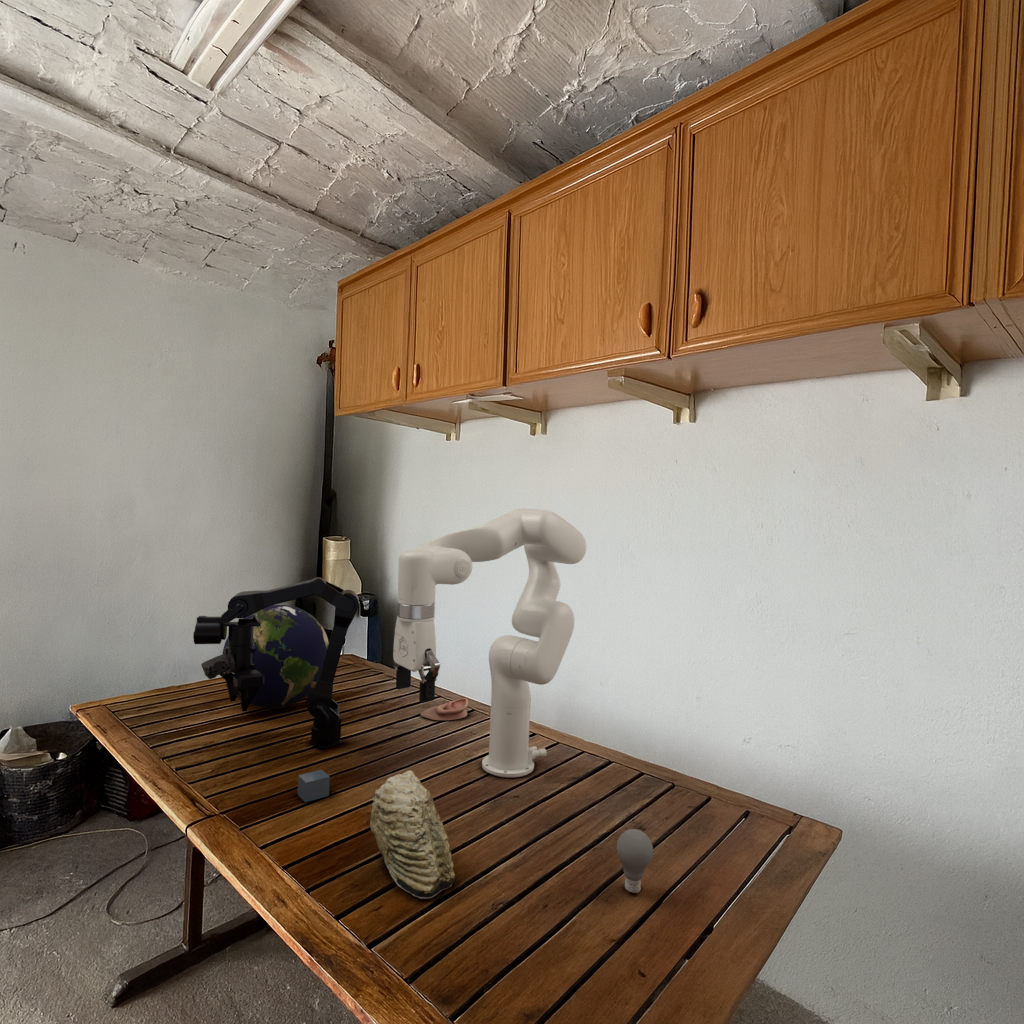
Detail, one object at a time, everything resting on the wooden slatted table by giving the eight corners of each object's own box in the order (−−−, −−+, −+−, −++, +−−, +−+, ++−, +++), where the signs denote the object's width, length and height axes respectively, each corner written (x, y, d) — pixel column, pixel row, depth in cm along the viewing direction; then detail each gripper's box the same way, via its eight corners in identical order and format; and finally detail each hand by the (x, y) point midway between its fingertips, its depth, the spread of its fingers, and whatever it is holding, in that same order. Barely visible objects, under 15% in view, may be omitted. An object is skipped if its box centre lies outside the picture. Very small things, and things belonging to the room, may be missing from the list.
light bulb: (610, 879, 108) (613, 822, 108) (644, 879, 109) (647, 822, 109) (619, 902, 102) (622, 840, 102) (655, 901, 103) (658, 840, 103)
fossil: (399, 838, 118) (402, 759, 118) (464, 883, 106) (468, 794, 105) (357, 856, 112) (361, 772, 112) (421, 906, 99) (425, 811, 99)
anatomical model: (416, 704, 183) (430, 693, 194) (416, 718, 183) (429, 705, 194) (461, 709, 180) (471, 697, 192) (460, 723, 180) (471, 710, 192)
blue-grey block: (297, 794, 134) (298, 775, 134) (320, 788, 138) (321, 769, 138) (305, 802, 131) (306, 782, 131) (329, 795, 134) (329, 776, 134)
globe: (289, 685, 209) (292, 594, 208) (348, 705, 191) (352, 606, 191) (199, 706, 185) (203, 604, 184) (258, 732, 167) (262, 619, 167)
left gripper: (195, 639, 159) (193, 701, 159) (216, 655, 144) (214, 723, 145) (241, 635, 166) (239, 694, 166) (266, 650, 151) (263, 714, 152)
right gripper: (380, 606, 133) (378, 686, 134) (421, 621, 119) (419, 710, 120) (411, 602, 138) (410, 680, 138) (455, 616, 124) (453, 703, 125)
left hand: (238, 706), depth 157 cm, fingers open, 9 cm apart
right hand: (414, 694), depth 129 cm, fingers open, 9 cm apart
